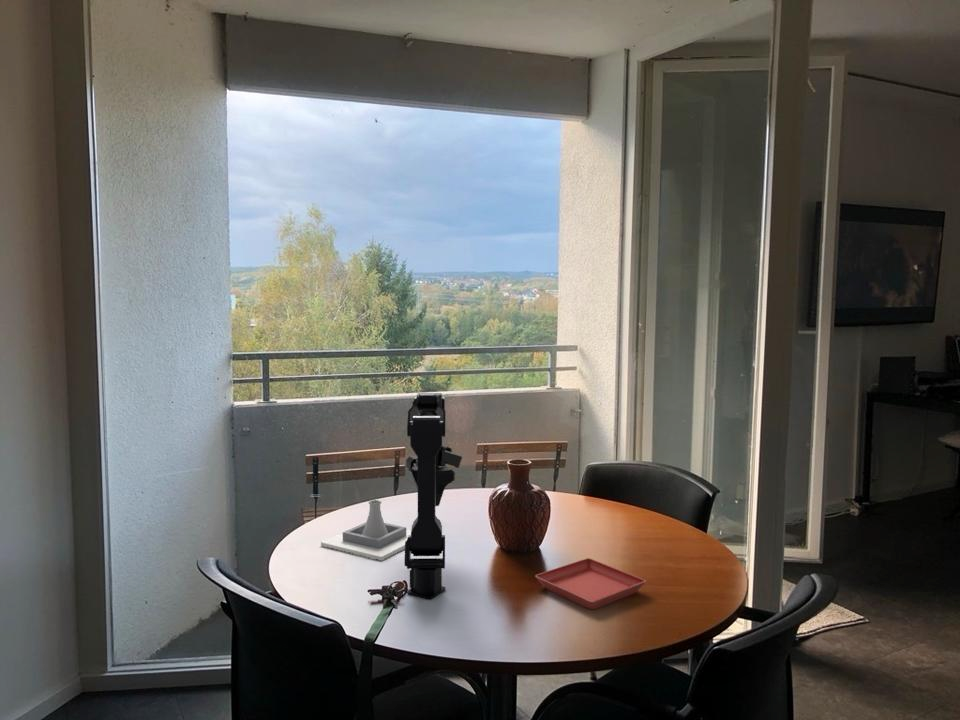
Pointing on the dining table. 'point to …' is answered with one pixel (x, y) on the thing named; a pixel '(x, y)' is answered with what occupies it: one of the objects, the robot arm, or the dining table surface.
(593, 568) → the plant saucer
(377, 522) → the flask
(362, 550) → the collar board
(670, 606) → the dining table surface
